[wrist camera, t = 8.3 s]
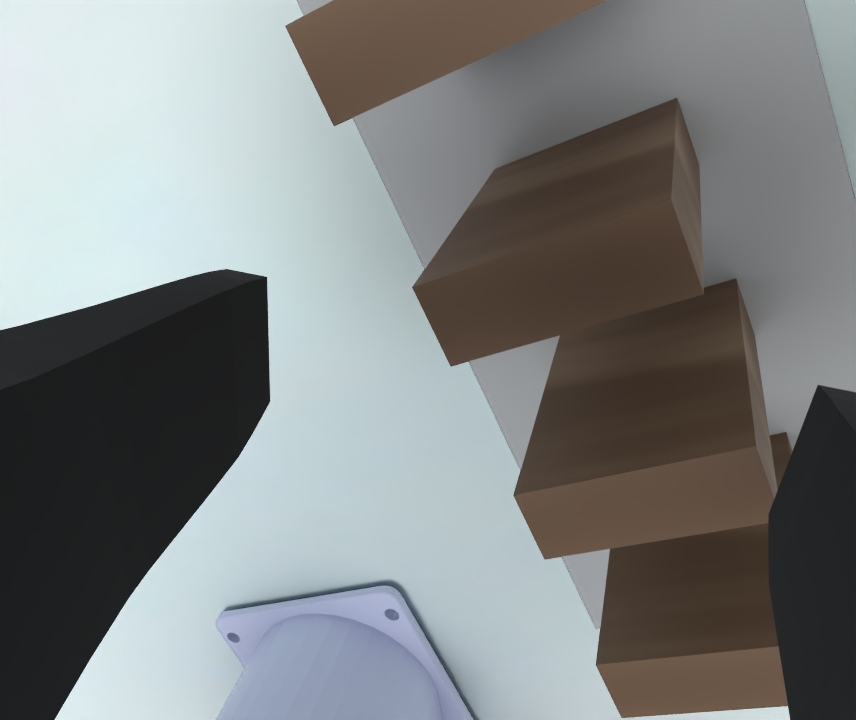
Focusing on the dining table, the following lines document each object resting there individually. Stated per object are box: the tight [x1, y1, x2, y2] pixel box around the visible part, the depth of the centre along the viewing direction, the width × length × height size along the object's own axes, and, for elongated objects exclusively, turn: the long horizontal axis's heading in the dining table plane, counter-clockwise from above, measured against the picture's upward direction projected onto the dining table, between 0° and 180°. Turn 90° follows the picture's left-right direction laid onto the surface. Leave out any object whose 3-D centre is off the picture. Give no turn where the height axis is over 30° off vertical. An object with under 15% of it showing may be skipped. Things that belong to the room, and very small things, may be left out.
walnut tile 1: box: [596, 432, 792, 718], centre depth 19 cm, size 2×4×7 cm, turn 116°
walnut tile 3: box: [412, 98, 704, 366], centre depth 16 cm, size 2×4×7 cm, turn 116°
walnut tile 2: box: [514, 278, 778, 559], centre depth 18 cm, size 2×4×7 cm, turn 116°
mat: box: [297, 0, 856, 629], centre depth 19 cm, size 29×10×1 cm, turn 26°
